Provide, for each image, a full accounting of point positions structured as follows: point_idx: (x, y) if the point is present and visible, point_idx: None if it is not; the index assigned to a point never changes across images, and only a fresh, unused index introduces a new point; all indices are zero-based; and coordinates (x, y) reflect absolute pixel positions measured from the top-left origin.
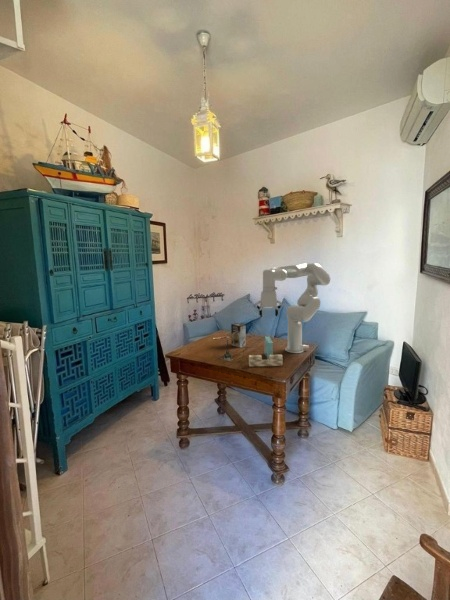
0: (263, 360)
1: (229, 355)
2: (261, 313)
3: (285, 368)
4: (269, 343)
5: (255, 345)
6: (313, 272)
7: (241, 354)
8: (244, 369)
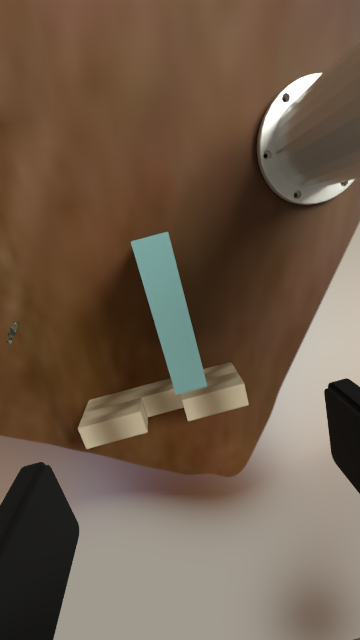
0: (154, 404)
1: None
2: (53, 602)
3: None
4: (184, 390)
5: (45, 64)
6: None
7: (9, 275)
8: (83, 448)
